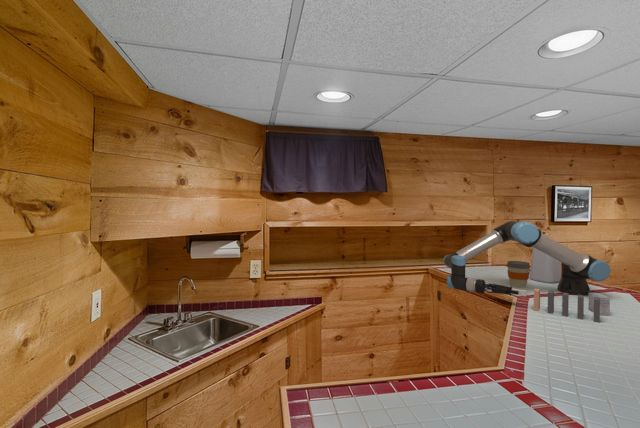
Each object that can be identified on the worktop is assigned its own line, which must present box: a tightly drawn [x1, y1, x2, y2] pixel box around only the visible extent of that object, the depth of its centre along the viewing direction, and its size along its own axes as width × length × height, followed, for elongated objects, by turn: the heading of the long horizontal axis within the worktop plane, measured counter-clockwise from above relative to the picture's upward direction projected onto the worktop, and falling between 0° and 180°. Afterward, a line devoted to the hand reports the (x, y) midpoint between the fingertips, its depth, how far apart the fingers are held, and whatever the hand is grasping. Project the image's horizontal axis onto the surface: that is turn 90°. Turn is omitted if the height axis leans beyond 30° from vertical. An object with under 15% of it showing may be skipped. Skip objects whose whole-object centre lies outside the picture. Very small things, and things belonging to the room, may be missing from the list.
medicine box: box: [588, 292, 611, 316], centre depth 146 cm, size 8×4×9 cm, turn 168°
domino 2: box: [561, 292, 570, 318], centre depth 144 cm, size 2×5×10 cm, turn 137°
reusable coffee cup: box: [506, 260, 531, 288], centre depth 197 cm, size 12×13×15 cm
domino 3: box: [577, 295, 585, 320], centre depth 140 cm, size 2×5×10 cm, turn 138°
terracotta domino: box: [533, 288, 541, 312], centre depth 151 cm, size 2×5×10 cm, turn 137°
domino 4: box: [593, 297, 601, 324], centre depth 136 cm, size 2×5×10 cm, turn 138°
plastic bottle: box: [529, 247, 561, 284], centre depth 209 cm, size 15×15×28 cm
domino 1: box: [547, 289, 555, 315], centre depth 147 cm, size 2×5×10 cm, turn 137°
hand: (526, 293), depth 154 cm, fingers closed
